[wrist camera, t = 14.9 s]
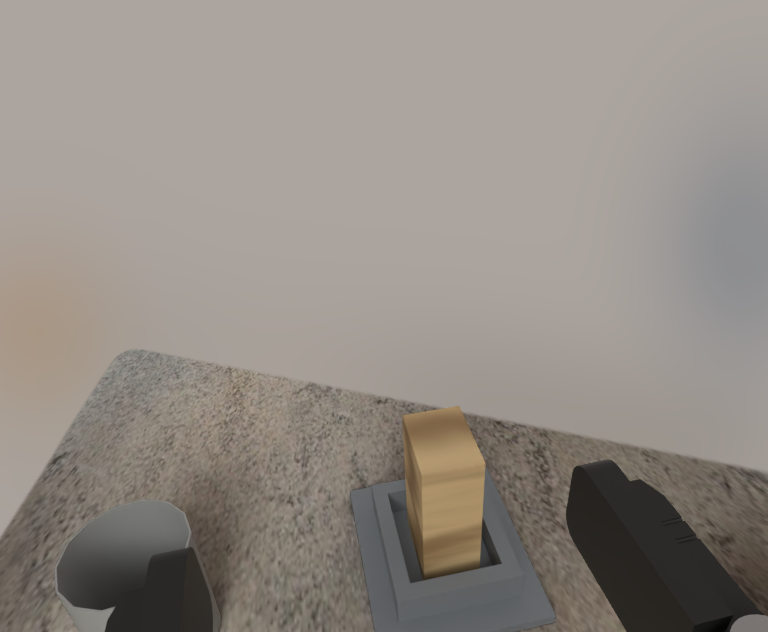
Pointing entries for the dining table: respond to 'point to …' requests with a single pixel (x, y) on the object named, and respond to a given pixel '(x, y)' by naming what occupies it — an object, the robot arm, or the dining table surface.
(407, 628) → the grey socket base
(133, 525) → the cup
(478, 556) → the wooden block
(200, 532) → the dining table surface
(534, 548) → the dining table surface
